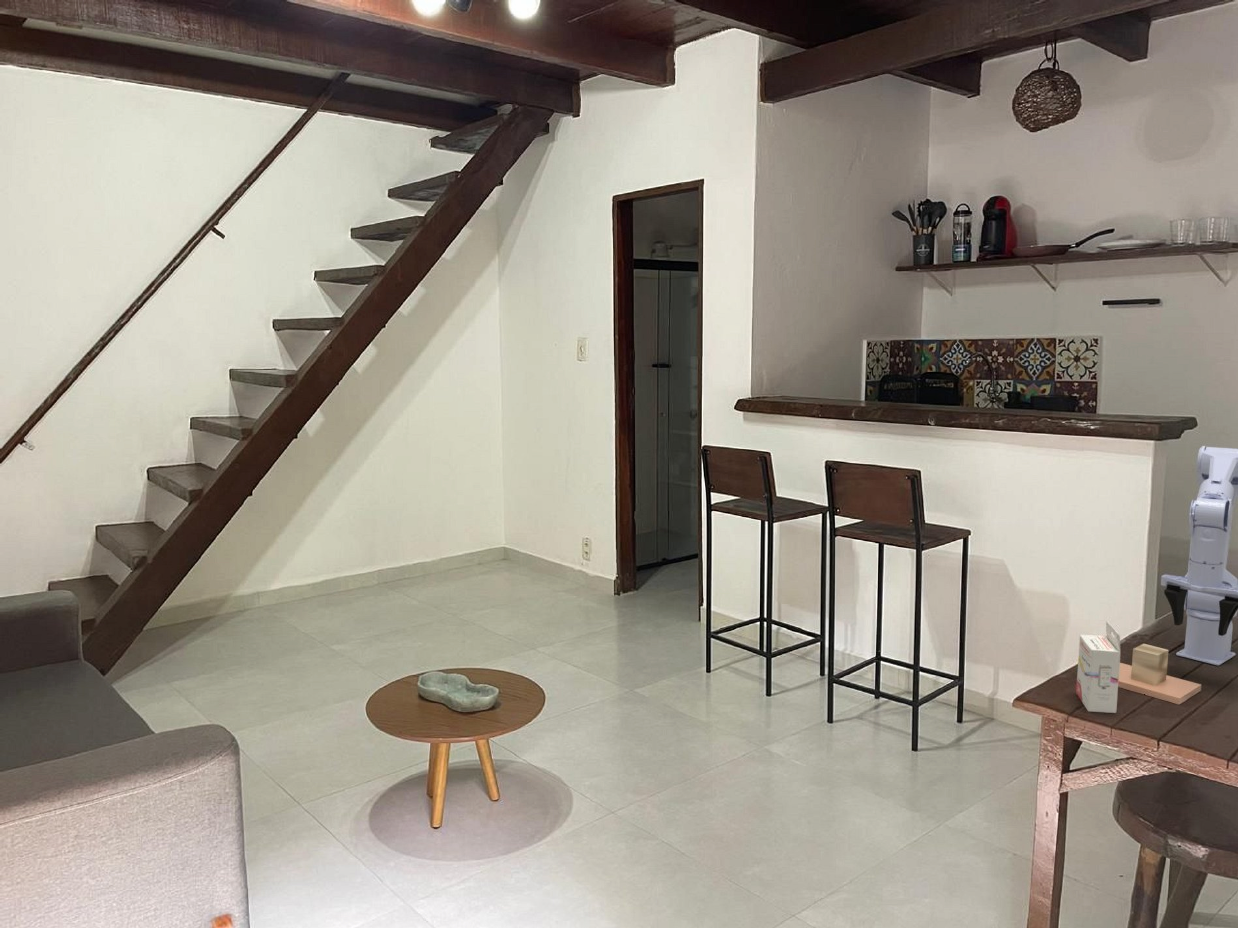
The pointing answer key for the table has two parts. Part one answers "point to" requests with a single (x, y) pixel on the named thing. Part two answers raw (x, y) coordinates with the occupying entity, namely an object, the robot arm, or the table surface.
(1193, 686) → the terracotta tile
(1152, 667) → the maple block
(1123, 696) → the table surface
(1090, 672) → the ink cartridge box
